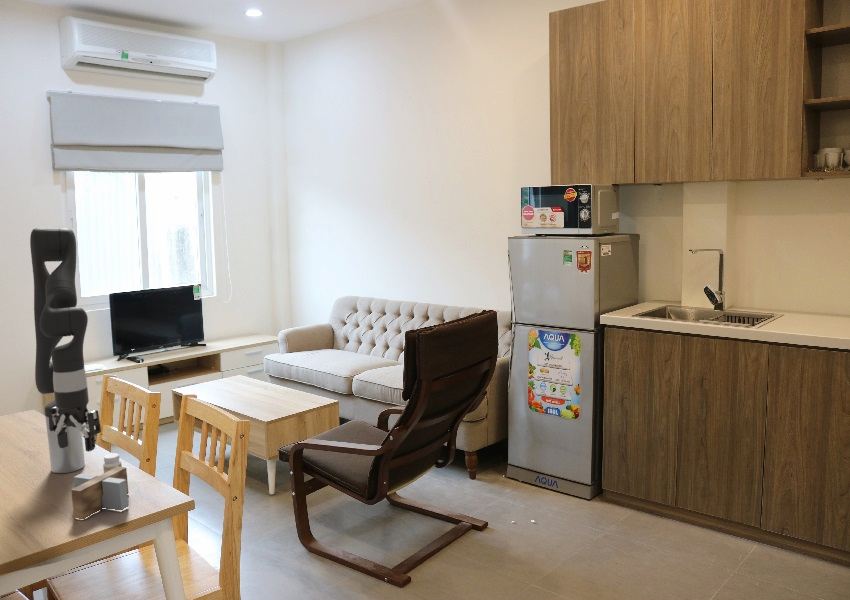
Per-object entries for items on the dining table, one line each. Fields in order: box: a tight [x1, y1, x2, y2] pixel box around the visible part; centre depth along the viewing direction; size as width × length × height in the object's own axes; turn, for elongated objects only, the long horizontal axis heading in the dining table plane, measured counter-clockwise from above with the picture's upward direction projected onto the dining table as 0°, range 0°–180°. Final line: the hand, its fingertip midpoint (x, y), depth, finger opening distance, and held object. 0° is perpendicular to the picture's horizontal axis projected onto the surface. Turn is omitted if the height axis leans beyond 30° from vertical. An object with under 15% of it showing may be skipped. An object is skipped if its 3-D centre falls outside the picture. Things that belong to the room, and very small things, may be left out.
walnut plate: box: [70, 466, 130, 519], centre depth 190 cm, size 16×3×8 cm, turn 160°
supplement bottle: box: [102, 452, 123, 473], centre depth 205 cm, size 5×5×8 cm
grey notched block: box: [73, 473, 129, 510], centre depth 190 cm, size 15×2×8 cm, turn 71°
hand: (76, 448), depth 182 cm, fingers open, 8 cm apart
